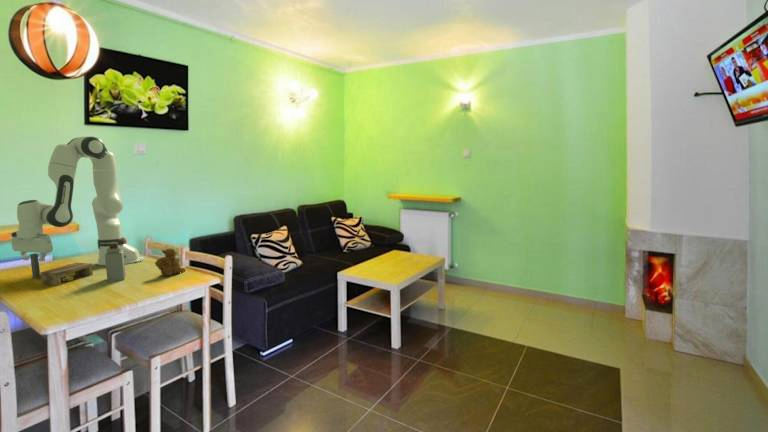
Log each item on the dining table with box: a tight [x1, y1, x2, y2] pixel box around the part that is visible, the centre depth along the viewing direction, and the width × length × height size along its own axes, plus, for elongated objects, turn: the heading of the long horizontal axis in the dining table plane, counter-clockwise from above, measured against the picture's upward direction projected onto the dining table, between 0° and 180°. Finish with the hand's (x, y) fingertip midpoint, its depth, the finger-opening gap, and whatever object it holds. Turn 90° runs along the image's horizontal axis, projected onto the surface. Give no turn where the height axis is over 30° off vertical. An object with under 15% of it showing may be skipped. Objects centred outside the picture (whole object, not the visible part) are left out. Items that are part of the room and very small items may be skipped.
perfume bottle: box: [105, 243, 127, 283], centre depth 192 cm, size 7×7×18 cm
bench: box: [40, 262, 94, 286], centre depth 192 cm, size 9×18×6 cm, turn 170°
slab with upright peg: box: [29, 253, 66, 279], centre depth 194 cm, size 14×7×12 cm, turn 80°
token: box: [61, 276, 75, 282], centre depth 192 cm, size 4×4×1 cm
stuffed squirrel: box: [154, 247, 187, 277], centre depth 201 cm, size 10×14×13 cm
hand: (34, 260), depth 194 cm, fingers open, 8 cm apart
